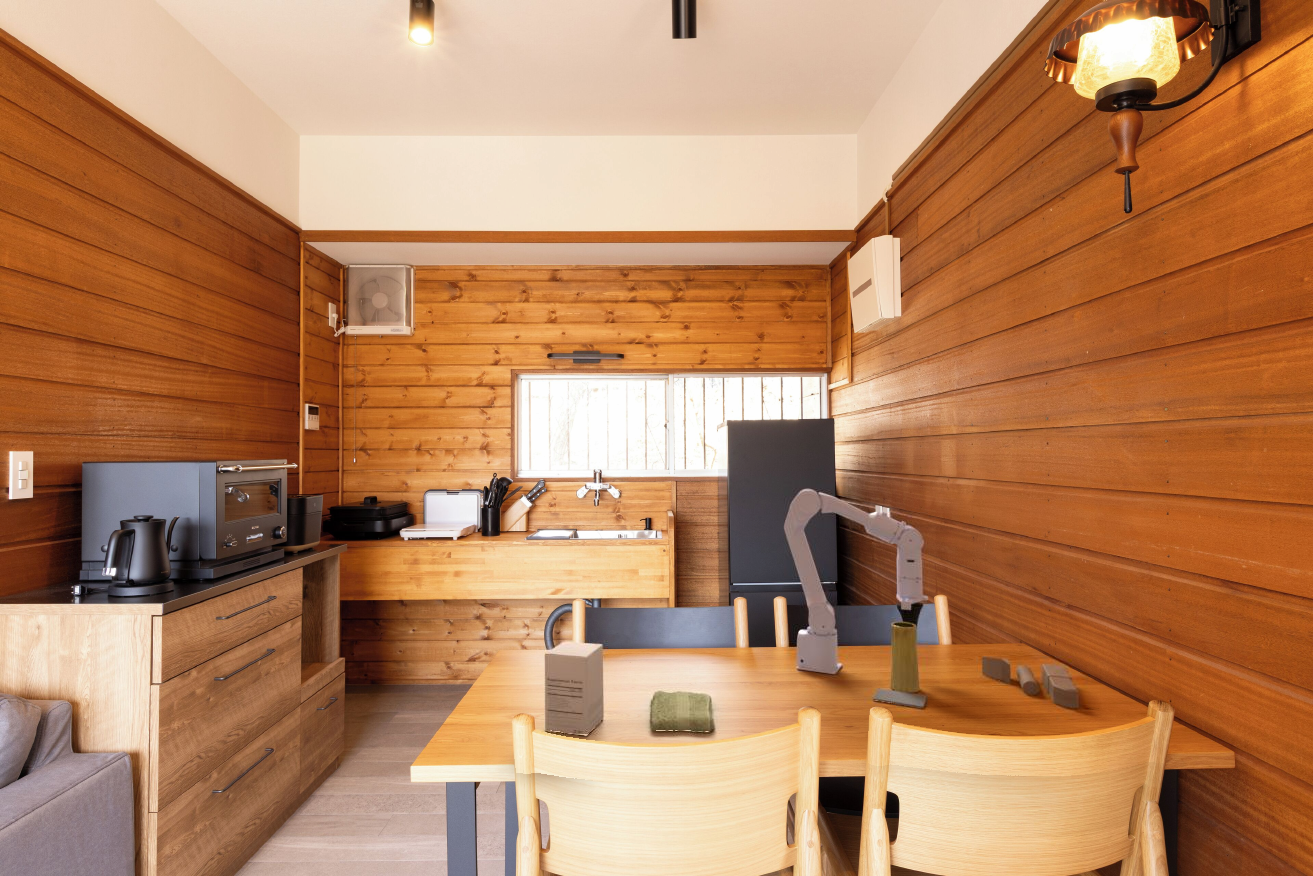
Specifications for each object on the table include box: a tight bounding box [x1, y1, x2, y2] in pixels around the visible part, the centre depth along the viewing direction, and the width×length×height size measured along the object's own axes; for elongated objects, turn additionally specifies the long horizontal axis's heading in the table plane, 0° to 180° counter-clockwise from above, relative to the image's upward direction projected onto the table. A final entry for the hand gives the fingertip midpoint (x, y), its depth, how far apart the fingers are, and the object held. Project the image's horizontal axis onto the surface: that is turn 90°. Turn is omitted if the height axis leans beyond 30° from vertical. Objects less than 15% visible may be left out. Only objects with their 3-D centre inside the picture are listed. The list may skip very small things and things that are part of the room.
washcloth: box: [649, 690, 716, 732], centre depth 133 cm, size 13×18×3 cm
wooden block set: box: [981, 656, 1080, 710], centre depth 146 cm, size 17×6×18 cm
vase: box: [890, 621, 921, 694], centre depth 148 cm, size 6×6×14 cm
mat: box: [872, 688, 928, 710], centre depth 141 cm, size 10×7×1 cm
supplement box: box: [544, 641, 605, 735], centre depth 128 cm, size 9×9×15 cm
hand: (910, 634), depth 158 cm, fingers closed
